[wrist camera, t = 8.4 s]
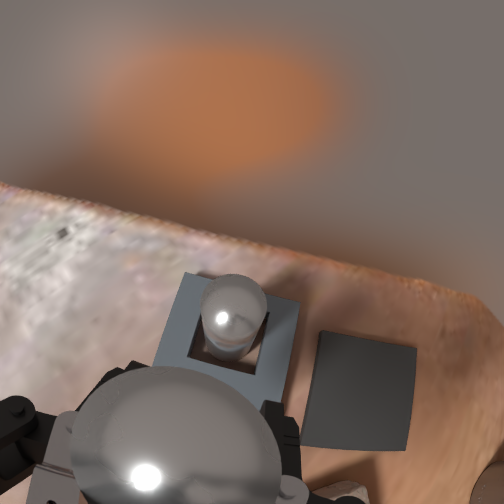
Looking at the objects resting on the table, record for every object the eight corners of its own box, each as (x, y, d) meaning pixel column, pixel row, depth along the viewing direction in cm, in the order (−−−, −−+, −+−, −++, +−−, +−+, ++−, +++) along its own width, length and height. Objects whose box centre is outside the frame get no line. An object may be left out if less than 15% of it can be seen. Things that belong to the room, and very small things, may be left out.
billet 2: (256, 323, 30) (272, 282, 22) (246, 366, 28) (259, 343, 19) (212, 313, 30) (210, 267, 22) (200, 355, 28) (192, 326, 19)
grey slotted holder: (295, 309, 32) (300, 302, 30) (255, 485, 22) (258, 489, 20) (186, 280, 32) (185, 272, 30) (131, 450, 22) (126, 453, 20)
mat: (412, 350, 30) (416, 348, 29) (400, 450, 24) (405, 450, 23) (319, 332, 30) (322, 330, 30) (297, 444, 24) (300, 445, 23)
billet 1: (250, 407, 14) (302, 396, 6) (229, 483, 12) (253, 570, 3) (166, 383, 14) (102, 337, 6) (144, 459, 12) (55, 505, 4)
